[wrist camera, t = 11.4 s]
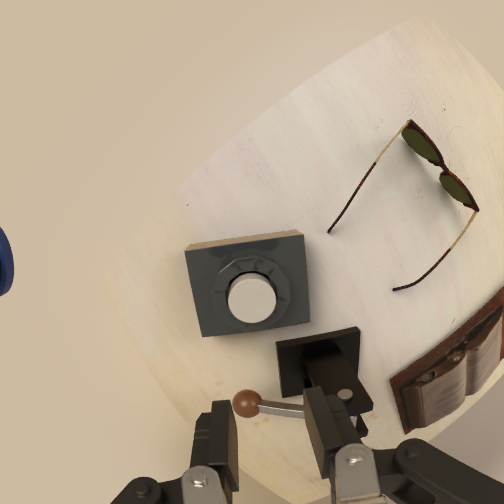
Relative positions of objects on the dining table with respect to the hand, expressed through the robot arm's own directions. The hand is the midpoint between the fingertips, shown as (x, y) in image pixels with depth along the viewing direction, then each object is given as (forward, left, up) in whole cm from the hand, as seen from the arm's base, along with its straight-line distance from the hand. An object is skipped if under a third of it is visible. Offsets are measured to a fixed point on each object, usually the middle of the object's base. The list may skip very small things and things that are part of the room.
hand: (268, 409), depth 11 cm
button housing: (0, 0, -19) cm, 19 cm away
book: (+34, -22, -19) cm, 45 cm away
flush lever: (+3, -12, -13) cm, 18 cm away
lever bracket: (+7, -12, -19) cm, 24 cm away
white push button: (0, 0, -15) cm, 15 cm away
